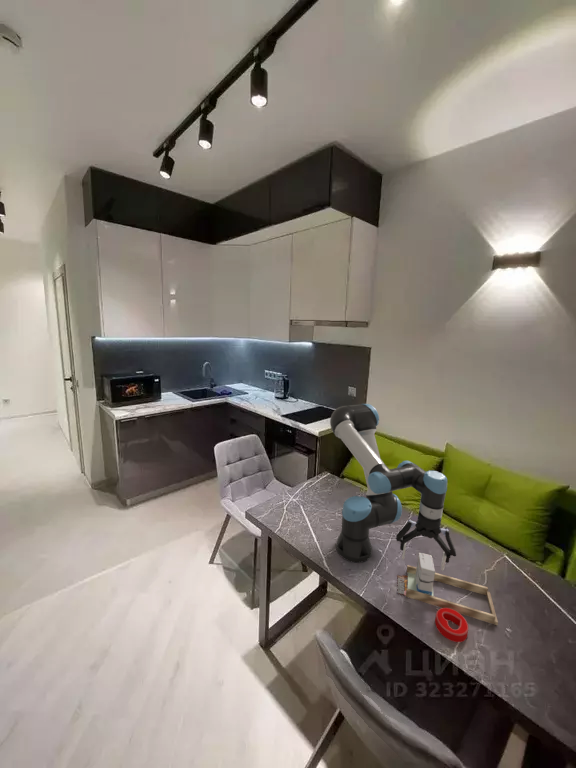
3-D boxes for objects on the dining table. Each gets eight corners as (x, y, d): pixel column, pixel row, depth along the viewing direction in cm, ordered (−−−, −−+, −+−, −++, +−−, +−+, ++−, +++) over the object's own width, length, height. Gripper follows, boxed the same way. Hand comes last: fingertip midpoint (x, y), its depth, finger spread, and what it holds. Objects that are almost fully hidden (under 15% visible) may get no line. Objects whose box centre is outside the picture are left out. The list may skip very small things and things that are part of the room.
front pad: (407, 595, 117) (407, 594, 117) (407, 572, 127) (408, 572, 127) (433, 603, 114) (434, 602, 114) (432, 579, 124) (432, 579, 124)
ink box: (431, 598, 116) (435, 571, 113) (417, 595, 117) (420, 568, 114) (428, 579, 124) (431, 554, 121) (414, 577, 125) (418, 551, 122)
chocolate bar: (409, 600, 116) (410, 599, 115) (395, 597, 117) (396, 595, 117) (409, 577, 126) (409, 575, 125) (396, 573, 127) (396, 572, 127)
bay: (405, 596, 117) (406, 589, 116) (406, 570, 128) (407, 564, 127) (497, 625, 107) (498, 618, 106) (489, 594, 118) (490, 588, 117)
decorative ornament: (473, 633, 104) (474, 626, 103) (455, 648, 99) (456, 640, 99) (446, 609, 112) (448, 602, 111) (428, 622, 107) (429, 614, 107)
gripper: (393, 511, 114) (386, 559, 120) (471, 529, 105) (461, 581, 111) (394, 499, 121) (388, 545, 126) (467, 516, 112) (458, 565, 118)
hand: (422, 562), depth 119 cm, fingers open, 13 cm apart
